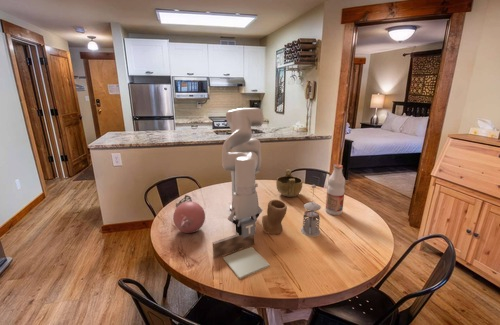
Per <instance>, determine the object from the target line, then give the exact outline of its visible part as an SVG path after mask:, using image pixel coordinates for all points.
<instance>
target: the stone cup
mask: <svg viewBox="0 0 500 325" xmlns="http://www.w3.org/2000/svg"><path fill="white" fill-rule="evenodd" d="M287 208H288V206H287V204H286V203H285V202H284V201H282V200H279V199H272V200H269V201H268V204H267V209H266V215H263V216H262V217H261V222H262V223H261V226H262V229H263V232H264V233H266V234H269V235H278V234H281V233H282V232H283V225H282V222H283V220H284V218H285V217H286V214H287V210H288V209H287Z"/></svg>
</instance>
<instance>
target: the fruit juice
mask: <svg viewBox="0 0 500 325" xmlns="http://www.w3.org/2000/svg"><path fill="white" fill-rule="evenodd" d="M332 166H333V171H332V173H331V174H330V175H329V176H328V180H327V182H328V185H327V189H326V196H325V197H326V198H325V199H326V200H325V209H324V210H325V212H326V213H327V214H329V215H332V216H333V215H334V216H339V215H342V213H343V209H344V208H343V207H344V199H345V192H346V191H345V186H346V178H345V177H344V174H343V168H344V167H343V166H344V165H343V164H338V163H337V164H333V165H332Z"/></svg>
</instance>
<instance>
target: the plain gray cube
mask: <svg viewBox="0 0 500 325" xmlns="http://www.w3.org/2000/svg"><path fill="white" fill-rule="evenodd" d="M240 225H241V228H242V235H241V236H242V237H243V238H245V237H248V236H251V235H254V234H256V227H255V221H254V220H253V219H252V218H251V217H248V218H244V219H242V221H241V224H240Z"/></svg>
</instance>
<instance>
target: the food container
mask: <svg viewBox="0 0 500 325" xmlns="http://www.w3.org/2000/svg"><path fill="white" fill-rule="evenodd" d="M188 201H192V202H193V199H192V197H191V196H190V195H187V194H185V195H184V197H183V198H181V199H180V200H179V202H178V203H177V202H176V203H175V208H177V207H178V206H179V205H180V204H182V203H184V202H188Z"/></svg>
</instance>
